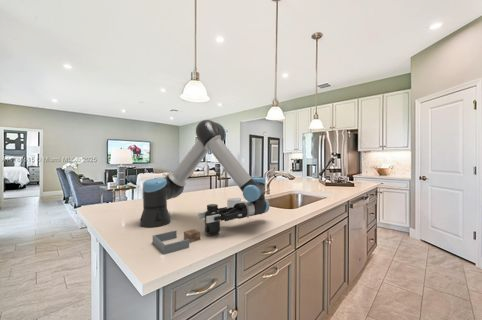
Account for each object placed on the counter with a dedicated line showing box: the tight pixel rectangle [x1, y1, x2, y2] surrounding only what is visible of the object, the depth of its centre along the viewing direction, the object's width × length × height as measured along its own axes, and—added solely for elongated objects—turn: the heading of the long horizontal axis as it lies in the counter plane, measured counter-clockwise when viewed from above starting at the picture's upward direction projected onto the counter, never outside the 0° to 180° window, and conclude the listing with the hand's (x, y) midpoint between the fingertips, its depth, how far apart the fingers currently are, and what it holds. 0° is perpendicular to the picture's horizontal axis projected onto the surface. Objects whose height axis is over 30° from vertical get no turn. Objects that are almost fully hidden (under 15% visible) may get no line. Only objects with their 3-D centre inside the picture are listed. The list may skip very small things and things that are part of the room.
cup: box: [226, 197, 247, 208], centre depth 131 cm, size 8×12×10 cm
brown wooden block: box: [183, 228, 202, 244], centre depth 93 cm, size 5×5×4 cm
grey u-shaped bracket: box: [152, 230, 190, 255], centre depth 87 cm, size 10×14×3 cm
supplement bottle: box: [204, 203, 221, 235], centre depth 99 cm, size 7×7×12 cm
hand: (202, 217), depth 96 cm, fingers closed on supplement bottle, 7 cm apart
